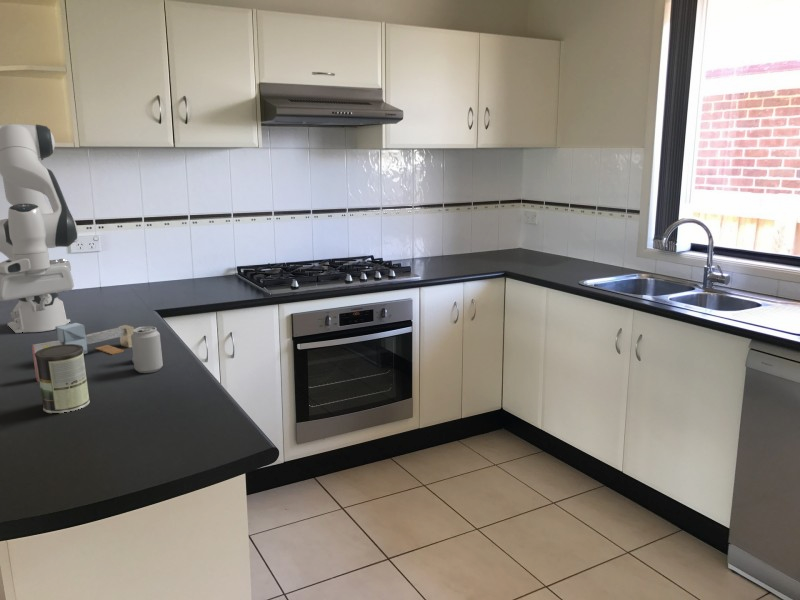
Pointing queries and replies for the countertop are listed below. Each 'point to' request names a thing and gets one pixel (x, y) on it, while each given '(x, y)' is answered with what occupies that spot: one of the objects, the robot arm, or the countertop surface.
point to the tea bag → (38, 347)
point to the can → (146, 349)
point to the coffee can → (62, 378)
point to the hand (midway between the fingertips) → (38, 310)
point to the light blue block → (72, 335)
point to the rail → (121, 332)
